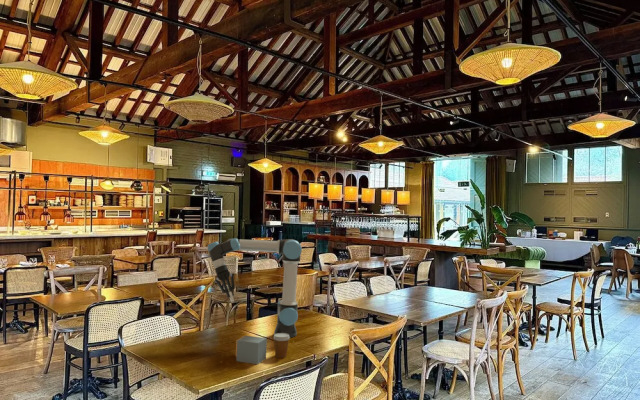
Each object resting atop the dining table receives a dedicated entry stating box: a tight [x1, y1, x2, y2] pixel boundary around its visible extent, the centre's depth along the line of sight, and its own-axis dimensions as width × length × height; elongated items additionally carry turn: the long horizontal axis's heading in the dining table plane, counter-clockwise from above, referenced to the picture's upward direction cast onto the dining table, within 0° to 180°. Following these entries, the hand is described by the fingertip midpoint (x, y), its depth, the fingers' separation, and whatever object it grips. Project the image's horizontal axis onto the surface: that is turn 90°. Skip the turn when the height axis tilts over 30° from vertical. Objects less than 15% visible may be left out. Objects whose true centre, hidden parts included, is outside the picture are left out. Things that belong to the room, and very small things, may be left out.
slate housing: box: [235, 335, 268, 365], centre depth 246 cm, size 14×10×11 cm
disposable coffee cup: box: [272, 333, 291, 359], centre depth 253 cm, size 10×10×12 cm
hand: (232, 301), depth 276 cm, fingers closed
